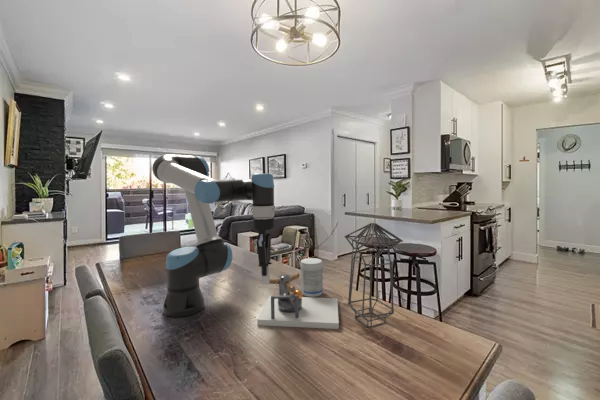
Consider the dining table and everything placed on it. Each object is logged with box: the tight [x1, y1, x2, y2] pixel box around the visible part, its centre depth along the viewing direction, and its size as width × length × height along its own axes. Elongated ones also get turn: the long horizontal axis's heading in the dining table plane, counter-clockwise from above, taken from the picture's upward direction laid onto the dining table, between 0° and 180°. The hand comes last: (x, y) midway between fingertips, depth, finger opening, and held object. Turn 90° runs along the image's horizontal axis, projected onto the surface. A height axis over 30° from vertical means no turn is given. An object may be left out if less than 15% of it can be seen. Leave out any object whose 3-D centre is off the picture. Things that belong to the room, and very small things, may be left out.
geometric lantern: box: [343, 222, 404, 328], centre depth 101 cm, size 16×16×35 cm
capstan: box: [268, 272, 303, 313], centre depth 107 cm, size 16×16×12 cm
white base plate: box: [256, 293, 340, 330], centre depth 106 cm, size 28×20×10 cm
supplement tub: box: [300, 257, 324, 298], centre depth 125 cm, size 10×10×15 cm
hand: (265, 283), depth 101 cm, fingers closed
